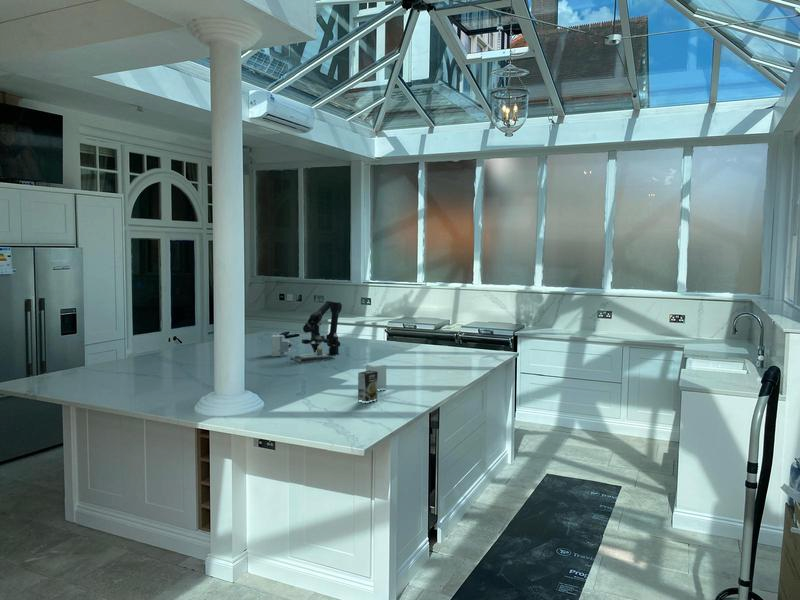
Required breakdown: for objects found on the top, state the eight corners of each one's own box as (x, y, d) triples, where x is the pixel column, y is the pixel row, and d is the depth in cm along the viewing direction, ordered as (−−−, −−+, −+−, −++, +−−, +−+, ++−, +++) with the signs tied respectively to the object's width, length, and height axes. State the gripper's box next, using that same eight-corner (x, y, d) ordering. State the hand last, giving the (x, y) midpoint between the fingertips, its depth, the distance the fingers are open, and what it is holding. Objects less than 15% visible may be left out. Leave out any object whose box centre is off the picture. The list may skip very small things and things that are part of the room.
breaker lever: (320, 356, 463) (320, 347, 462) (322, 356, 460) (322, 347, 459) (316, 356, 461) (316, 347, 460) (318, 357, 458) (318, 348, 458)
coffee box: (366, 404, 334) (366, 374, 333) (357, 402, 338) (357, 372, 337) (378, 400, 341) (378, 371, 339) (369, 398, 345) (369, 369, 344)
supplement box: (386, 390, 364) (386, 364, 363) (373, 392, 360) (373, 366, 358) (378, 387, 372) (378, 362, 370) (365, 389, 367) (365, 363, 366)
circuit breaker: (290, 356, 467) (290, 336, 466) (271, 356, 468) (270, 336, 466) (292, 354, 475) (292, 335, 473) (273, 354, 475) (273, 334, 474)
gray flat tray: (323, 354, 470) (323, 352, 469) (330, 357, 457) (330, 356, 457) (294, 357, 458) (294, 355, 458) (301, 360, 446) (301, 358, 446)
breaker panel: (324, 355, 473) (324, 351, 473) (334, 359, 456) (334, 355, 455) (291, 358, 460) (290, 354, 460) (300, 363, 443) (300, 358, 443)
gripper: (307, 333, 445) (306, 355, 447) (331, 332, 455) (331, 353, 456) (301, 331, 455) (301, 352, 456) (325, 330, 464) (325, 351, 465)
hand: (314, 352), depth 458 cm, fingers closed
